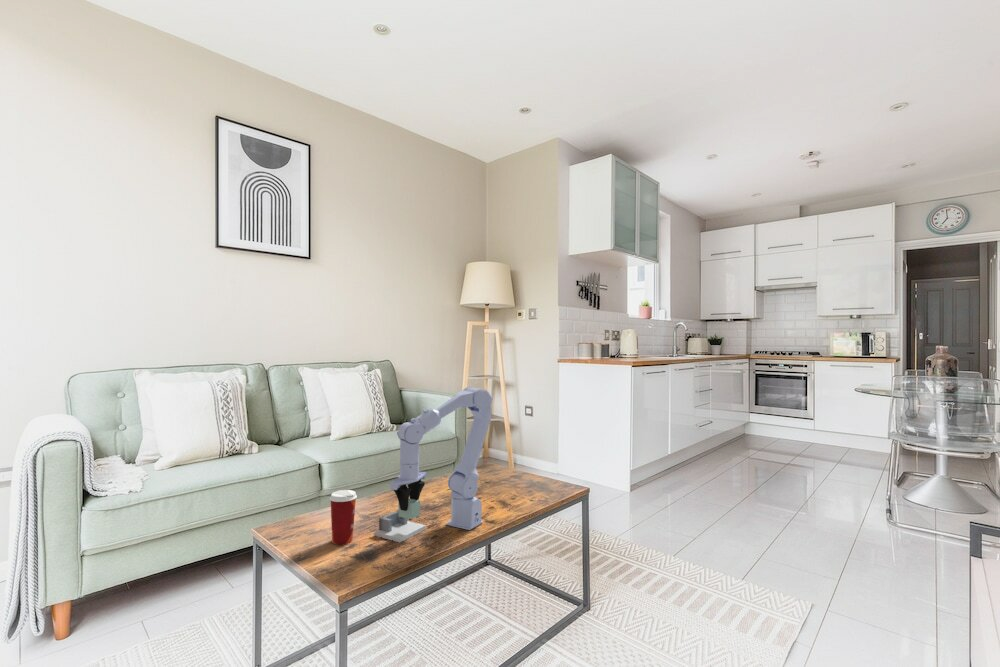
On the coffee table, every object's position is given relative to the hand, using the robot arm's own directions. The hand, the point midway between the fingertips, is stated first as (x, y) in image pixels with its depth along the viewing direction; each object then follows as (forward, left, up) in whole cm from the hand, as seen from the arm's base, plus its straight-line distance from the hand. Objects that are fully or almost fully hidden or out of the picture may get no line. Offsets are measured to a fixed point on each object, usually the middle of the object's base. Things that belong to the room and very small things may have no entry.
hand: (408, 507), depth 144 cm
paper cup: (+14, +13, -9) cm, 21 cm away
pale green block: (0, 0, -3) cm, 3 cm away
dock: (+4, -1, -8) cm, 9 cm away
